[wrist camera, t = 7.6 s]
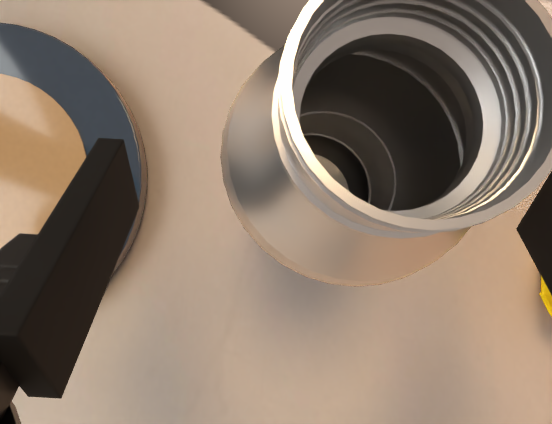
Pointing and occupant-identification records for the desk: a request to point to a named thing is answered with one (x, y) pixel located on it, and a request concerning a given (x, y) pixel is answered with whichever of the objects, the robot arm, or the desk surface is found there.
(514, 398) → the desk surface
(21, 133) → the plate
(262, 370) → the desk surface
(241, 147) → the silver metal bottle
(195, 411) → the desk surface
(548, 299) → the watch
